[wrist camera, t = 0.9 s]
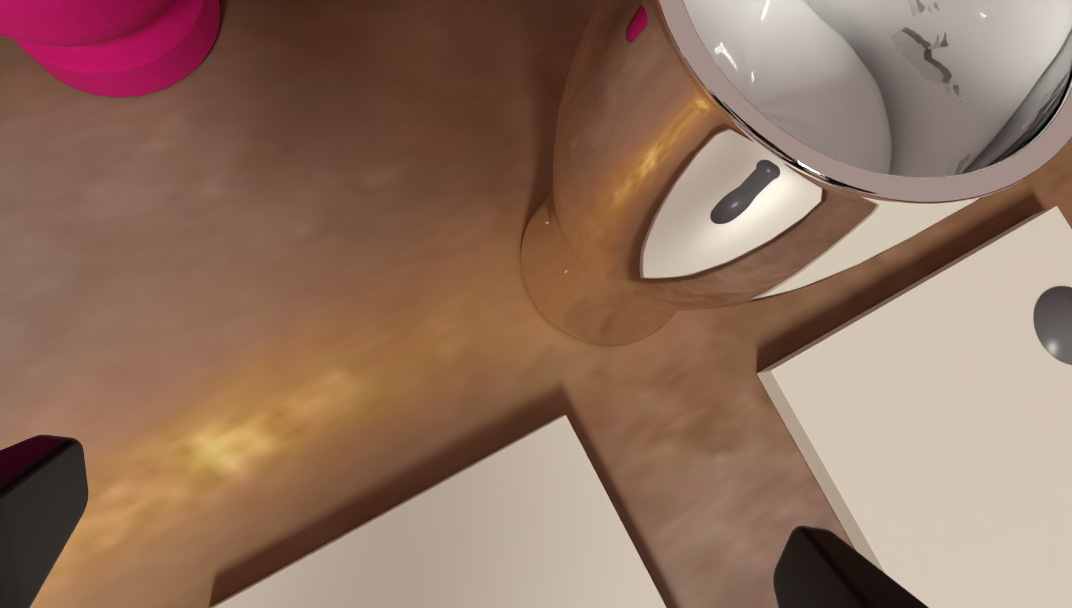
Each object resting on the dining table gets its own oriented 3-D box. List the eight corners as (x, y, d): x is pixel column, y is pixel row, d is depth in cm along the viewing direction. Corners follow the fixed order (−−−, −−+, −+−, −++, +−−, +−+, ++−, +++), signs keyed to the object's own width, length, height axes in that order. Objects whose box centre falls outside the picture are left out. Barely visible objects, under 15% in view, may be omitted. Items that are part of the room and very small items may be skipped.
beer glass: (612, 134, 24) (879, -327, 9) (735, 278, 24) (1212, 26, 9) (466, 245, 22) (516, -109, 8) (595, 401, 22) (903, 334, 7)
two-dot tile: (1235, 532, 25) (1269, 536, 24) (967, 748, 21) (993, 763, 20) (1033, 214, 26) (1056, 205, 25) (756, 373, 23) (770, 370, 22)
